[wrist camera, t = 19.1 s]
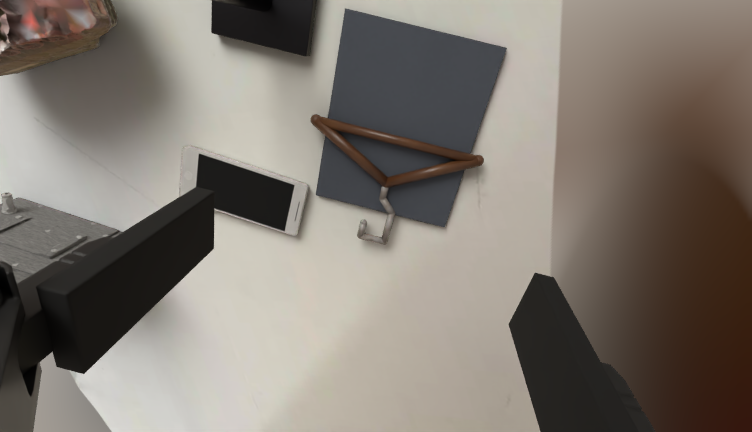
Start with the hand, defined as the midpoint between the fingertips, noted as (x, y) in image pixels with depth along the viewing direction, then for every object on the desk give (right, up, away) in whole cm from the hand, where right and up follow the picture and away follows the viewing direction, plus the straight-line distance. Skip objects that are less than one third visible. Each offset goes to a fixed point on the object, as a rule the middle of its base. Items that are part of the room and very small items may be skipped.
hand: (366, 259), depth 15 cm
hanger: (+3, +10, +24) cm, 26 cm away
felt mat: (+3, +11, +25) cm, 28 cm away
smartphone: (-16, +5, +30) cm, 35 cm away
